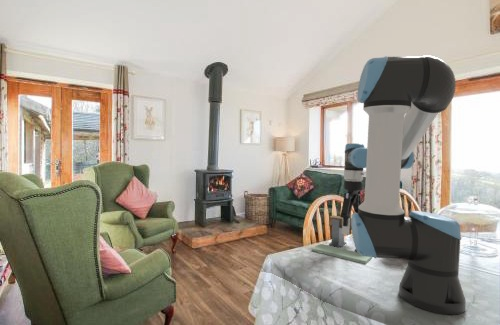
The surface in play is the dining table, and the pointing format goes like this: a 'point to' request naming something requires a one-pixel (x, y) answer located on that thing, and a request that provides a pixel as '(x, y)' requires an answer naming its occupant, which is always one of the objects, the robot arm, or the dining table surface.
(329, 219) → the rail
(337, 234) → the post far
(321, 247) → the mat
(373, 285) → the dining table surface
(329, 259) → the dining table surface
